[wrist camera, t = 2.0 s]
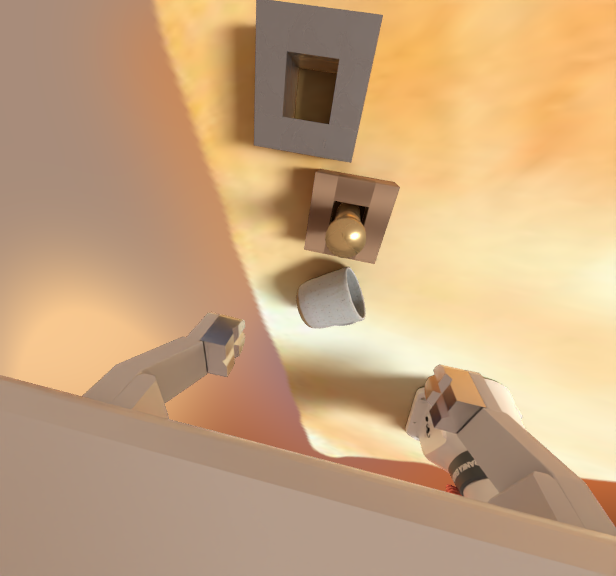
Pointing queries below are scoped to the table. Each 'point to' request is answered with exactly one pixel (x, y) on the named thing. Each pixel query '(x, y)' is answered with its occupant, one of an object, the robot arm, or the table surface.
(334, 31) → the socket
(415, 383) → the table surface
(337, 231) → the pin
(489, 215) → the table surface
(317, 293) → the ceramic mug
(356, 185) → the mount
